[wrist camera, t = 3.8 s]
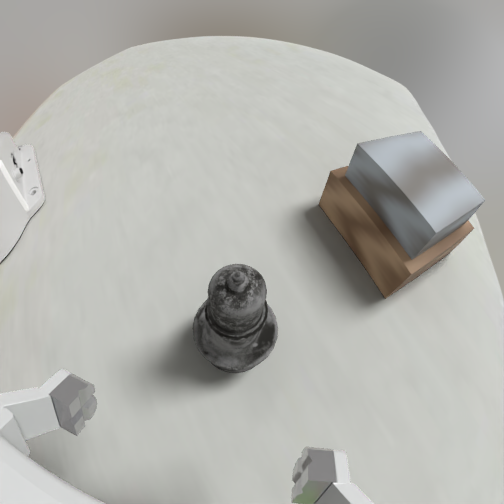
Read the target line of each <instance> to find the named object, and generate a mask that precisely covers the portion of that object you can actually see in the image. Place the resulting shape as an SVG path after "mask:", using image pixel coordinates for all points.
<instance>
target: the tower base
mask: <svg viewBox="0 0 504 504" xmlns="http://www.w3.org/2000/svg"><path fill="white" fill-rule="evenodd" d="M484 201H485V199H484V198H483V197H482V196H481V194H480V193H479V192H478V191H477V190H476V188H475V187H474V186H473V185H472V183H471V182H470V181H469V180H468V179H467V178H466V177H465V176H464V174H463V173H462V172H461V171H460V170H459V169H458V168H457V167H456V166H455V165H454V163H453V162H452V161H451V160H450V159H449V158H448V157H447V156H446V155H445V154H444V153H443V152H442V151H441V150H440V149H439V148H438V147H437V146H436V145H435V144H434V143H433V142H432V141H431V140H430V139H429V138H428V137H427V136H426V135H424V134H423V133H422V132H421V131H418V132H413V133H407V134H402V135H397V136H391V137H386V138H381V139H377V140H372V141H367V142H363V143H358V144H357V146H356V149H355V151H354V154H353V156H352V159H351V162H350V164H349V166H346V167H343V168H339V169H336V170H332V171H331V172H330V174H329V177H328V180H327V183H326V186H325V188H324V191H323V194H322V197H321V199H320V202H319V206H320V207H321V208H322V210H323V211H324V212H325V214H326V215H327V216H328V218H329V219H330V220H331V222H332V223H333V224H334V226H335V227H336V228H337V230H338V231H339V232H340V234H341V235H342V236H343V238H344V239H345V241H346V242H347V243H348V245H349V246H350V248H351V249H352V250H353V252H354V253H355V255H356V256H357V257H358V259H359V260H360V262H361V263H362V265H363V266H364V267H365V269H366V270H367V272H368V273H369V275H370V276H371V278H372V279H373V281H374V282H375V284H376V285H377V287H378V288H379V290H380V291H381V293H382V294H383V296H384V297H385V299H386V298H387V297H389V296H390V295H392V294H393V293H395V292H396V291H398V290H399V289H401V288H402V287H403V286H405V285H406V284H408V283H409V282H411V281H412V280H414V279H415V278H416V277H418V276H419V275H421V274H422V273H423V272H425V271H426V270H428V269H429V268H430V267H432V266H433V265H434V264H436V263H437V262H438V261H440V260H441V259H442V258H444V257H445V256H446V255H448V254H449V253H450V252H451V251H452V250H453V249H454V248H455V247H456V246H457V245H458V244H459V243H460V242H461V241H462V240H463V239H464V238H465V237H466V236H467V235H468V234H469V233H470V232H471V231H472V230H473V229H474V227H473V226H472V225H471V223H470V222H469V221H468V220H469V219H470V217H471V216H472V215H473V214H474V213H475V212H476V210H477V209H478V208H479V207H480V206H481V205H482V203H483V202H484Z"/></svg>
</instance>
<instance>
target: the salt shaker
mask: <svg viewBox="0 0 504 504" xmlns="http://www.w3.org/2000/svg"><path fill="white" fill-rule="evenodd" d="M266 293H267V289H266V285H265V281H264V279H263V277H262V276H261V274H260V273H259V272H258V271H257V270H255V269H253V268H252V267H250V266H247V265H243V264H232V265H228V266H225V267H223V268H221V269H220V270H218V271H217V272H216V273H215V274H214V276H213V277H212V279H211V281H210V283H209V287H208V299H207V300H206V301H205V302H204V303H203V304H202V306H201V307H200V308H199V310H198V312H197V314H196V316H195V318H194V324H193V335H194V340H195V343H196V345H197V348H198V350H199V351H200V352H201V354H202V355H203V356H204V357H205V358H206V359H207V360H208V361H210V362H211V363H212V364H213V365H214V366H216V367H217V368H218V369H221V370H223V371H226V372H233V373H238V372H245V371H247V370H249V369H252V368H253V367H255V366H256V365H258V364H259V363H261V362H262V361H263V360H264V359H266V358H267V357H268V355H269V354H270V353H271V351H272V350H273V348H274V346H275V343H276V340H277V334H278V326H277V321H276V317H275V315H274V313H273V311H272V309H271V308H270V306H269V305H268V304H267V302H266V300H265V299H266Z"/></svg>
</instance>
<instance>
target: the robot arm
mask: <svg viewBox="0 0 504 504" xmlns="http://www.w3.org/2000/svg"><path fill="white" fill-rule="evenodd" d="M44 201H45V194H44V190H43V186H42V182H41V178H40V173H39V168H38V164H37V158H36V153H35V149H34V147H33V145H32V144H26V145H22V146H19V147H17V145H16V143H15V142H14V140H13V138H12V137H11V135H10V134H9V133H7V132H0V262H1V261H2V260H3V259H4V258H5V257H6V256H7V255H8V253H9V252H10V251H11V249H12V248H13V247H14V245H15V244H16V242H17V241H18V239H19V237H20V236H21V234H22V232H23V230H24V228H25V226H26V224H27V222H28V221H29V219H30V218H31V217H32V216H33V215H34V214H35V213H36V211H37V210H38V209H39V208H40V207H41V206H42V204H43V203H44ZM94 392H95V388H94V385H93V384H91V383H89V382H87V381H85V380H83V379H81V378H80V377H78V376H76V375H74V374H72V373H70V372H68V371H67V370H65V369H60V370H59V371H58V372H57V373H55V374H54V375H53V376H52V377H51V378H50V379H49V380H48V381H46V382H45V383H44V384H43V385H42V386H41V387H40V388H37V387H33V388H28V389H22V390H17V391H11V392H5V393H0V504H106V503H104V502H102V501H100V500H98V499H96V498H94V497H92V496H90V495H89V494H87V493H85V492H83V491H81V490H79V489H78V488H76V487H74V486H72V485H71V484H69V483H67V482H65V481H64V480H62V479H61V478H59V477H57V476H56V475H54V474H53V473H51V472H50V471H48V470H47V469H45V468H44V467H42V466H41V465H39V464H38V463H36V462H35V461H33V460H32V459H31V458H29V457H28V455H29V453H30V449H29V447H28V445H27V443H26V440H29V439H31V438H34V437H37V436H40V435H42V434H45V433H48V432H50V431H53V430H56V429H58V428H60V427H62V428H63V429H65V430H67V431H69V432H71V433H73V434H74V435H76V436H77V435H78V434H79V433H80V432H81V430H82V429H83V428H84V427H85V421H86V420H89V419H91V418H92V417H93V415H94V413H95V411H96V408H97V400H96V398H95V397H94V395H93V393H94ZM292 480H293V482H294V483H295V485H294V487H293V488H292V500H291V503H298V504H374V503H373V502H372V501H371V500H370V499H369V498H368V497H367V496H366V495H365V494H364V493H363V492H362V491H361V490H360V489H359V488H358V487H357V485H356V484H355V483H351V481H350V474H349V467H348V460H347V454H346V451H345V450H334V449H332V450H331V449H324V448H314V447H305V448H304V449H303V451H302V457H301V458H299V459H298V460H297V462H296V463H295V466H294V469H293V477H292Z"/></svg>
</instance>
